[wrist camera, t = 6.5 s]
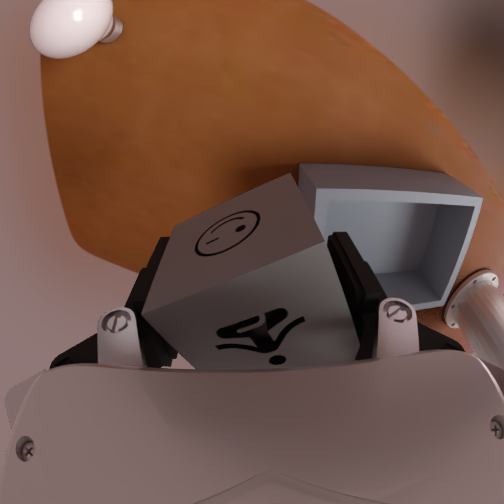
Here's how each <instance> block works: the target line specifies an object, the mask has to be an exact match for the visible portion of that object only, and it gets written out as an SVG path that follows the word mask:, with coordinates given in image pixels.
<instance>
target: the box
mask: <svg viewBox="0 0 504 504" xmlns="http://www.w3.org/2000/svg"><path fill="white" fill-rule="evenodd" d="M298 188H299V190H300V192H301V194H302V196H303V198H304V200H305V202H306V204H307V206H308V208H309V210H310V211H311V213H312V215H313V217H314V219H315V222H316V224H317V226H318V228H319V230H320V232H321V234H322V236H323V238H324V240H325V242H326V245H327V240H328V236H329V235H332V233H333V232H347V233H348V235H349V236H350V238H351V240H352V241H353V243H354V245H355V246H356V248H357V250H358V251H359V253H360V255H361V256H362V258H363V260H364V261H367V262H368V264H369V265H370V267H371V269H372V270H373V272H374V274H375V276H376V277H377V279H378V281H379V283H380V285H381V286H382V288H383V290H384V292H385V294H386V296H387V297H388V298H399V299H402V300H404V301H406V302H408V303H409V304H410V305H412V306H413V308H414V309H415V310H421V309H427V308H433V307H439V306H444V304H445V302H446V300H447V298H448V295H449V293H450V291H451V289H452V286H453V284H454V282H455V280H456V277H457V275H458V272H459V270H460V267H461V265H462V262H463V260H464V257H465V254H466V252H467V249H468V246H469V243H470V240H471V237H472V235H473V231H474V228H475V225H476V222H477V219H478V215H479V212H480V208H481V205H482V201H483V197H481V196H480V195H479V194H477V193H476V192H474V191H473V190H471V189H470V188H468V187H467V186H465V185H464V184H462V183H461V182H459V181H458V180H456V179H454V178H453V177H451V176H450V175H448V174H446V173H440V172H432V171H424V170H415V169H405V168H394V167H381V166H367V165H348V164H319V163H299V178H298Z"/></svg>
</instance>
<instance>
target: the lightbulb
mask: <svg viewBox="0 0 504 504" xmlns="http://www.w3.org/2000/svg"><path fill="white" fill-rule="evenodd" d="M112 15H113V3H112V0H42V1H41V2H40V4H39V5H38V6H37V8H36V10H35V12H34V14H33V16H32V19H31V22H30V29H29V33H30V39H31V42H32V44H33V46H34V48H35V49H36V50H37V51H38V52H39V53H41V54H42V55H44V56H47V57H50V58H55V59H64V58H70V57H73V56H76V55H79V54H81V53H83V52H85V51H86V50H88V49H90V48H91V47H92V46H93V45H95V44H96V43H97V42H103V43H110V42H113V41H114V40H116V39H117V38H118V37H119V36H120V34H121V33H122V30H123V24H122V22H121V20H120V19H118V18H116V17H113V16H112Z"/></svg>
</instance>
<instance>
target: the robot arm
mask: <svg viewBox="0 0 504 504" xmlns="http://www.w3.org/2000/svg"><path fill="white" fill-rule="evenodd" d="M169 239H170V237H161V238H160V239H159V241H158V243H157V245H156V248H155V250H154V252H153V254H152V256H151V258H150V260H149V262H148V265H147V267H146V268H142V269H141V271H140V273H139V275H138V277H137V280H136V282H135V284H134V286H133V288H132V291H131V293H130V295H129V298H128V300H127V302H126V304H125V307H117V308H113V309H111V310H109V311H107V312H105V313H104V314H103V315H102V316H101V317H100V319H99V321H98V325H97V326H98V327H97V331H98V332H97V333H96V334H94V335H93V336H91V337H89V338H88V339H86V340H84V341H83V342H81V343H79V344H77V345H76V346H74V347H72V348H70V349H68V350H67V351H65V352H63V353H62V354H60V355H58V356H57V357H56V358H55V359H54V360H53V361H52V363H51V365H50V369H49V370H47V371H46V369H44V370H42V371H40V372H39V373H37V374H35V375H33V376H32V377H30V378H28V379H26V380H25V381H23V382H21V383H19V384H17V385H16V386H14V387H12V388H11V389H10V390H9V391H8V392H7V394H6V397H5V407H6V411H7V415H8V419H9V423H10V426H11V430H12V431H11V434H10V437H9V441H8V444H7V448H6V451H5V455H4V459H3V464H2V468H1V472H0V504H504V294H502V293H501V292H500V291H499V290H498V277H497V275H496V274H495V273H494V272H493V271H492V270H488V269H486V270H481V271H478V272H477V273H475V274H473V275H472V276H470V277H469V278H467V279H466V280H465V281H464V282H463V283H462V284H461V285H460V286H459V287H458V288H457V290H456V291H455V292H454V293H453V295H452V296H451V298H450V299H449V301H448V303H447V306H446V308H445V312H444V319H445V322H446V323H447V325H448V326H449V327H451V328H460V329H461V331H462V333H463V334H464V336H465V337H466V339H467V341H468V342H469V344H470V346H471V348H472V349H473V351H474V353H475V354H476V356H477V357H476V356H474V355H472V354H470V353H467V352H465V351H464V349H463V347H462V346H461V345H460V344H459V343H458V342H456V341H455V340H453V339H451V338H449V337H447V336H445V335H443V334H441V333H439V332H437V331H435V330H433V329H431V328H429V327H426V326H424V325H422V324H420V323H418V322H417V317H416V312H415V309H414V308H413V306H412V305H410V304H409V303H408V302H406V301H404V300H402V299H399V298H388V297H387V296H386V294H385V292H384V290H383V288H382V286H381V285H380V283H379V281H378V279H377V277H376V276H375V274H374V272H373V270H372V269H371V267H370V265H369V264H368V262H367V261H364V260H363V258H362V256H361V255H360V253H359V251H358V250H357V248H356V246H355V245H354V243H353V241H352V240H351V238H350V236H349V235H348V233H347V232H333V233H332V235H329V236H328V240H327V248H328V250H329V253H330V256H331V259H332V261H333V264H334V267H335V270H336V272H337V275H338V278H339V281H340V284H341V287H342V290H343V293H344V296H345V299H346V302H347V305H348V308H349V311H350V314H351V317H352V320H353V323H354V327H355V330H356V333H357V336H358V340H359V343H360V347H359V350H358V352H357V355H356V357H355V360H357V361H351V362H343V363H334V364H324V365H314V366H302V367H288V368H271V369H243V370H196V369H194V370H193V369H167V368H161V367H162V366H169V367H170V366H171V364H172V359H176V358H177V354H178V352H177V351H176V350H175V349H174V348H173V347H172V346H171V345H170V344H169V343H168V342H167V341H166V340H165V339H164V338H163V337H162V336H161V335H160V334H159V333H158V332H157V331H156V330H155V329H154V328H153V327H152V326H151V325H150V324H149V322H148V321H147V320H146V319H145V318H144V317H143V316H142V315H141V313H142V310H143V307H144V305H145V302H146V299H147V296H148V293H149V291H150V288H151V285H152V282H153V280H154V277H155V275H156V272H157V269H158V267H159V264H160V262H161V259H162V256H163V254H164V251H165V249H166V246H167V244H168V242H169Z"/></svg>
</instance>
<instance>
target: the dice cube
mask: <svg viewBox="0 0 504 504" xmlns="http://www.w3.org/2000/svg"><path fill="white" fill-rule="evenodd" d="M141 315H142V316H143V317H144V318H145V319H146V320H147V321H148V322H149V324H150V325H151V326H152V327H153V328H154V329H155V330H156V331H157V332H158V333H159V334H160V335H161V336H162V337H163V338H164V339H165V340H166V341H167V342H168V343H169V344H170V345H171V346H172V347H173V348H174V349H175V350H176V351H177V352H178V353H179V354H180V355H181V356H182V357H184V358H185V359H186V360H187V361H188V362H189V363H190V364H191V365H192V366H193V367H194V368H195V369H196V370H243V369H271V368H288V367H302V366H314V365H324V364H334V363H343V362H351V361H357V360H355V357H356V355H357V352H358V350H359V347H360V343H359V340H358V336H357V333H356V330H355V327H354V323H353V320H352V317H351V314H350V311H349V308H348V305H347V302H346V299H345V296H344V293H343V290H342V287H341V284H340V281H339V278H338V275H337V272H336V270H335V267H334V264H333V261H332V259H331V256H330V253H329V250H328V248H327V245H326V242H325V240H324V238H323V236H322V234H321V232H320V230H319V228H318V226H317V224H316V222H315V219H314V217H313V215H312V213H311V211H310V210H309V208H308V206H307V204H306V202H305V200H304V198H303V196H302V194H301V192H300V190H299V188H298V186H297V184H296V182H295V181H294V179H293V177H292V175H291V173H288V174H286V175H283V176H281V177H279V178H276V179H274V180H272V181H269V182H267V183H265V184H263V185H260V186H258V187H256V188H254V189H252V190H249V191H247V192H245V193H243V194H241V195H238V196H236V197H234V198H232V199H230V200H228V201H226V202H223V203H221V204H219V205H217V206H215V207H213V208H211V209H209V210H207V211H205V212H203V213H201V214H199V215H197V216H194V217H192V218H190V219H188V220H186V221H184V222H182V223H180V224H178V225H176V226H175V227H174V229H173V232H172V234H171V237H170V239H169V242H168V244H167V246H166V249H165V251H164V254H163V256H162V259H161V262H160V264H159V267H158V269H157V272H156V275H155V277H154V280H153V282H152V285H151V288H150V291H149V293H148V296H147V299H146V302H145V305H144V307H143V310H142V313H141Z"/></svg>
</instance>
